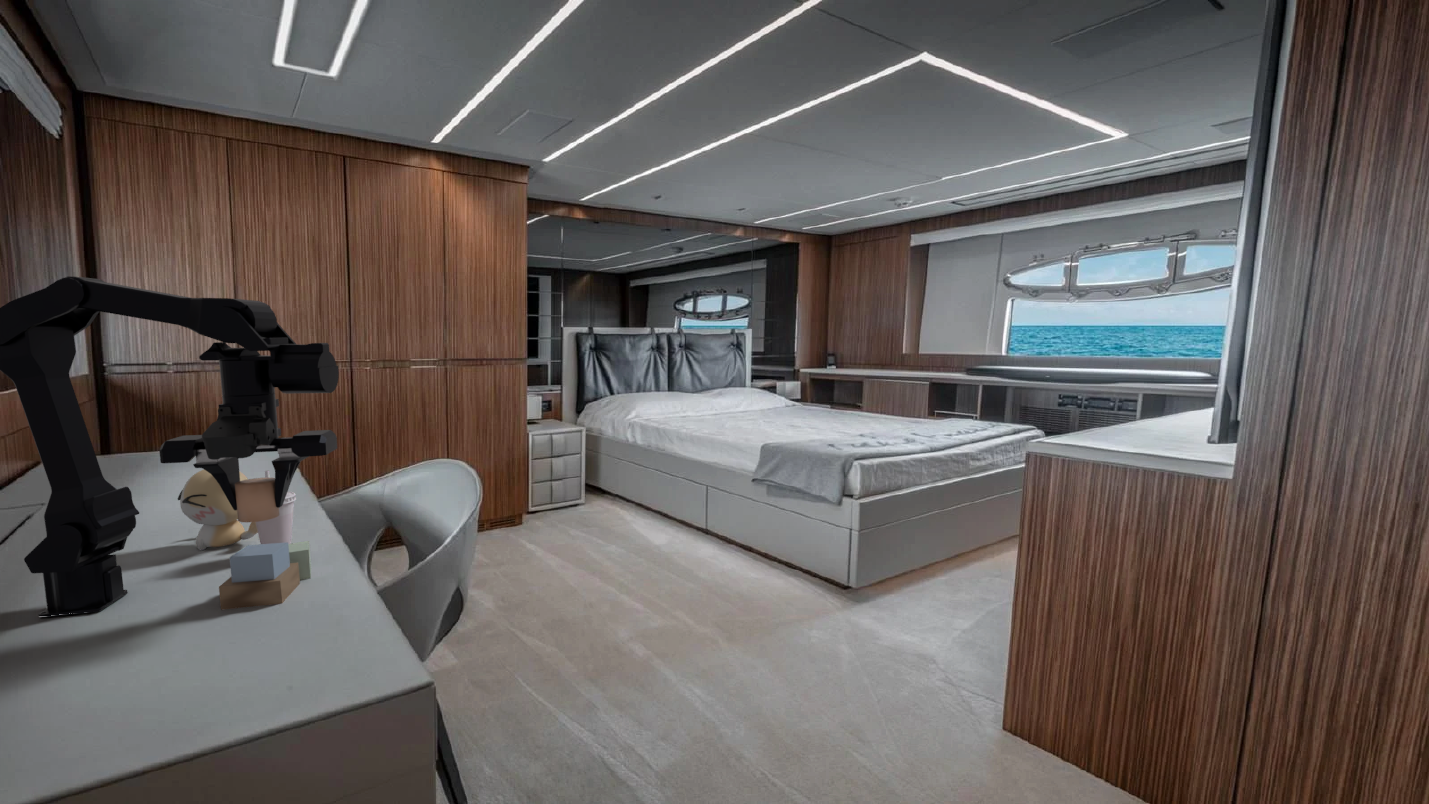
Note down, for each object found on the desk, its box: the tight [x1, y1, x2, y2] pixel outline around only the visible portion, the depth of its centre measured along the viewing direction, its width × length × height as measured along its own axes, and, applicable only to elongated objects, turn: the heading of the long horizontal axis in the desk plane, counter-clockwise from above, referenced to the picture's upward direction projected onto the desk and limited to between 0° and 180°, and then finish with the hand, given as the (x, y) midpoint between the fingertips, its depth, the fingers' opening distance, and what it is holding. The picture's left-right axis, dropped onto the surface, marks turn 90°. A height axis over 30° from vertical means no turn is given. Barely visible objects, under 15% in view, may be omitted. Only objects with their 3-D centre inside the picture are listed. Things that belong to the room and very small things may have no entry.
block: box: [288, 540, 312, 581], centre depth 94 cm, size 4×4×4 cm
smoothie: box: [256, 470, 297, 544], centre depth 104 cm, size 6×6×14 cm
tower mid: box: [229, 542, 290, 583], centre depth 87 cm, size 5×5×4 cm
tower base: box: [218, 563, 301, 611], centre depth 87 cm, size 7×7×4 cm
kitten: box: [177, 469, 258, 551], centre depth 108 cm, size 15×10×15 cm
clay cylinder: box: [235, 477, 279, 523], centre depth 86 cm, size 5×5×5 cm
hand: (258, 508), depth 86 cm, fingers closed on clay cylinder, 5 cm apart
